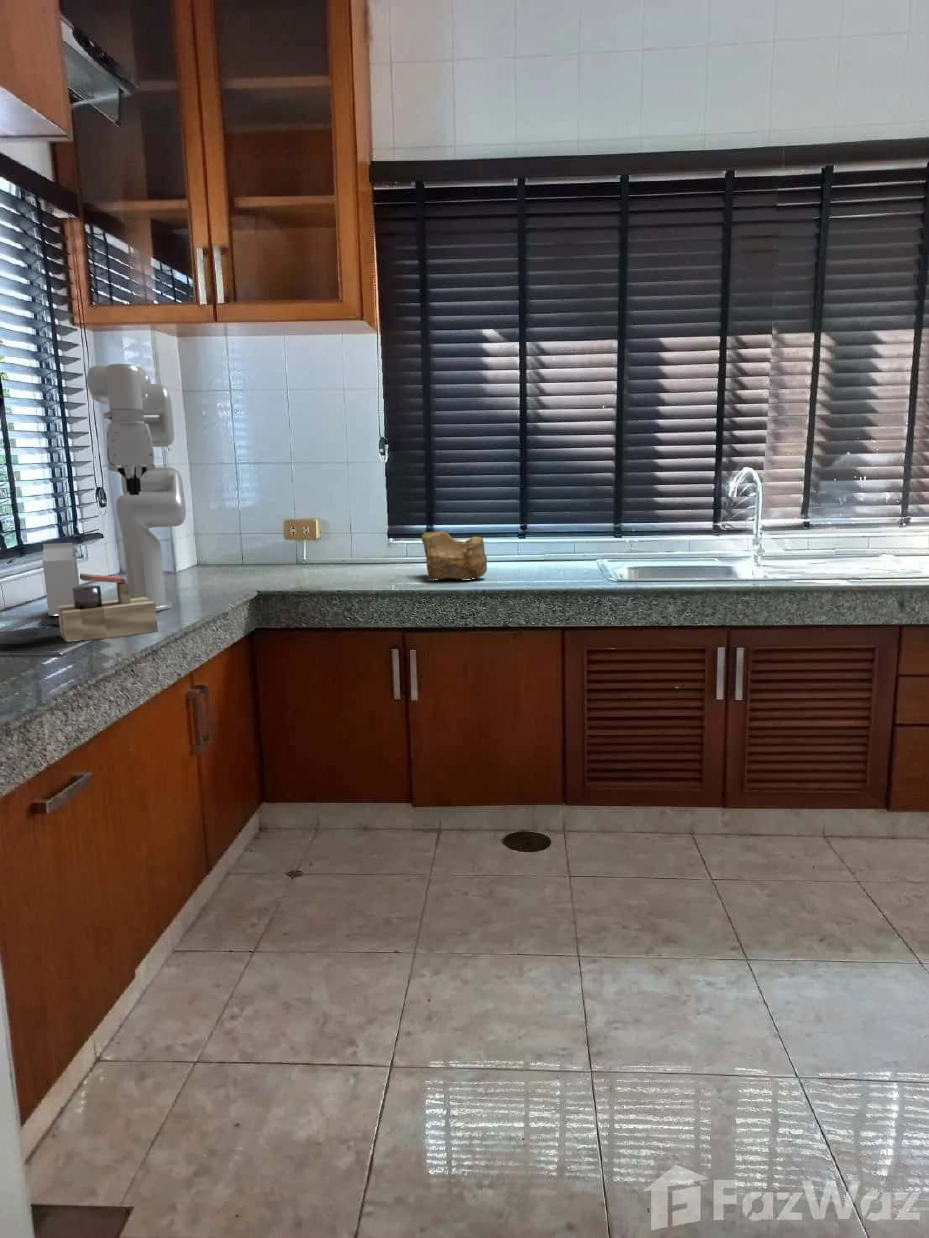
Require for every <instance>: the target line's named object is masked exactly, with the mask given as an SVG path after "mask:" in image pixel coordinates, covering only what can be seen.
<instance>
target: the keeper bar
mask: <svg viewBox="0 0 929 1238" xmlns="http://www.w3.org/2000/svg"><path fill="white" fill-rule="evenodd" d="M79 579H80V580H81V581H84V582H85V581H87V582H102V583H115V584H117V583H126V582H127V579H125V578H124V577H122V576H115V575H114V576H113V575H100V574H87V573H79Z"/></svg>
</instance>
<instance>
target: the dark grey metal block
mask: <svg viewBox="0 0 929 1238" xmlns="http://www.w3.org/2000/svg"><path fill="white" fill-rule="evenodd" d="M72 590H73V599H74V608H76V609H90V608H97V607H101V606H102V601H103V597H102V590H101V586H100V585H96V584H95V585H82V586H81V585H79V587H74V588H72Z"/></svg>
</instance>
